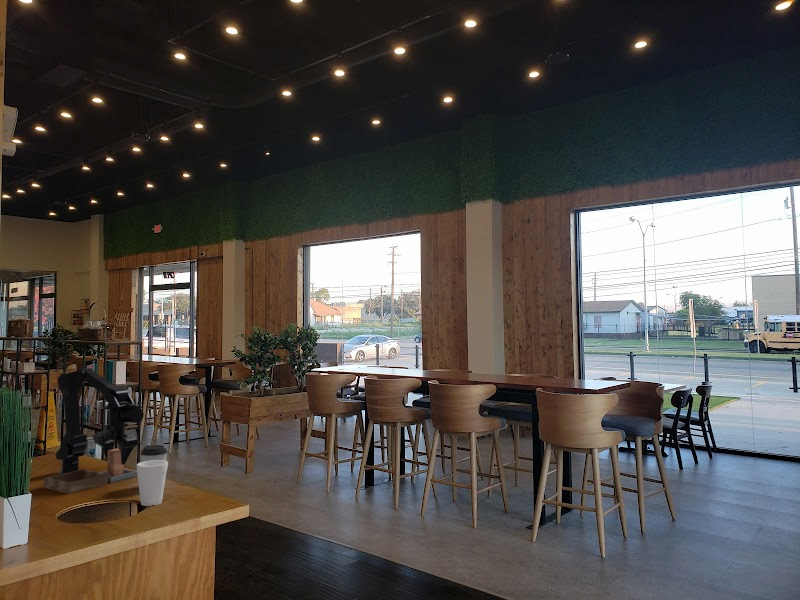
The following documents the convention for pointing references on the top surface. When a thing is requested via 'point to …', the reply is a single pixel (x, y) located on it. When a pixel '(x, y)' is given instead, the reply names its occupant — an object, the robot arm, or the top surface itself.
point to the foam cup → (151, 481)
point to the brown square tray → (75, 481)
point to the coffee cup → (153, 453)
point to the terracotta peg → (114, 463)
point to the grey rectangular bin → (121, 476)
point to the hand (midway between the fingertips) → (115, 462)
